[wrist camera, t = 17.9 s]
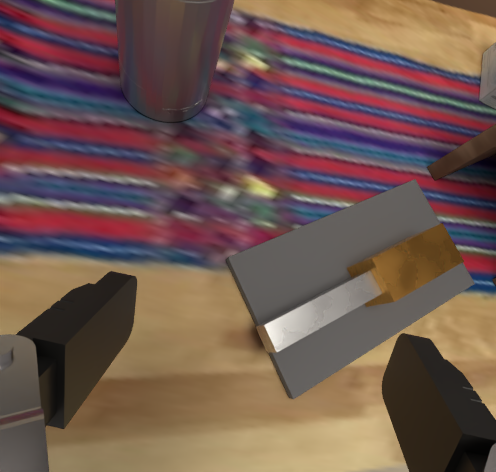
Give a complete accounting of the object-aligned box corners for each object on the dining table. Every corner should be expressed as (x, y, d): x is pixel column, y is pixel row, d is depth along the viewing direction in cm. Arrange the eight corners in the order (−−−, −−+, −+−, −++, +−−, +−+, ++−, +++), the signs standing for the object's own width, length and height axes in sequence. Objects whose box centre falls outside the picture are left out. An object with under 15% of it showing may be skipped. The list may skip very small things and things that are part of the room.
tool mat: (225, 259, 35) (228, 257, 34) (409, 182, 44) (415, 179, 44) (289, 397, 33) (293, 399, 32) (467, 285, 42) (474, 283, 41)
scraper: (268, 362, 32) (286, 364, 28) (247, 317, 33) (262, 312, 29) (431, 270, 40) (464, 261, 36) (412, 235, 41) (442, 223, 37)
